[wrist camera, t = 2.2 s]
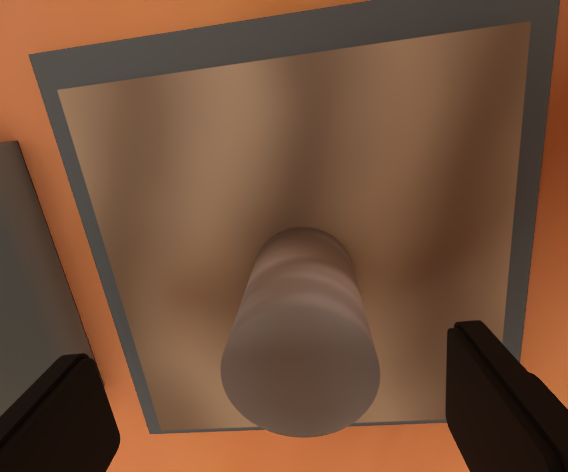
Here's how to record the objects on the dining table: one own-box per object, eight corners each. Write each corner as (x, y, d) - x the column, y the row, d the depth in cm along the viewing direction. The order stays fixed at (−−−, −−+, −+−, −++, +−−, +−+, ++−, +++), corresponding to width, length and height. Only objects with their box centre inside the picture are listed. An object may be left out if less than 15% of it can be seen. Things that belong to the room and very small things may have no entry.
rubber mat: (555, -26, 12) (563, -30, 12) (509, 413, 18) (513, 419, 18) (35, 55, 14) (28, 54, 14) (152, 428, 20) (149, 434, 20)
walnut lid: (510, 29, 12) (755, -67, 6) (483, 397, 18) (592, 578, 11) (77, 91, 14) (-140, 75, 7) (169, 411, 19) (94, 577, 12)
